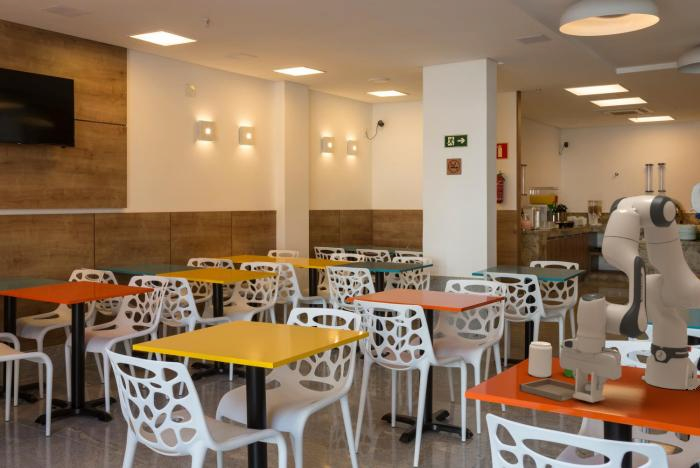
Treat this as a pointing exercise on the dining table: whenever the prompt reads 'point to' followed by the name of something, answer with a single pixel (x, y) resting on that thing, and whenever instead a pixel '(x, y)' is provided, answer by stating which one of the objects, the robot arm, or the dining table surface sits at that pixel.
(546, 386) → the tray
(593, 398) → the u-shaped napkin holder
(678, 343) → the robot arm
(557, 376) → the dining table surface
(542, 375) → the beverage can
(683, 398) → the dining table surface
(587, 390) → the ball
